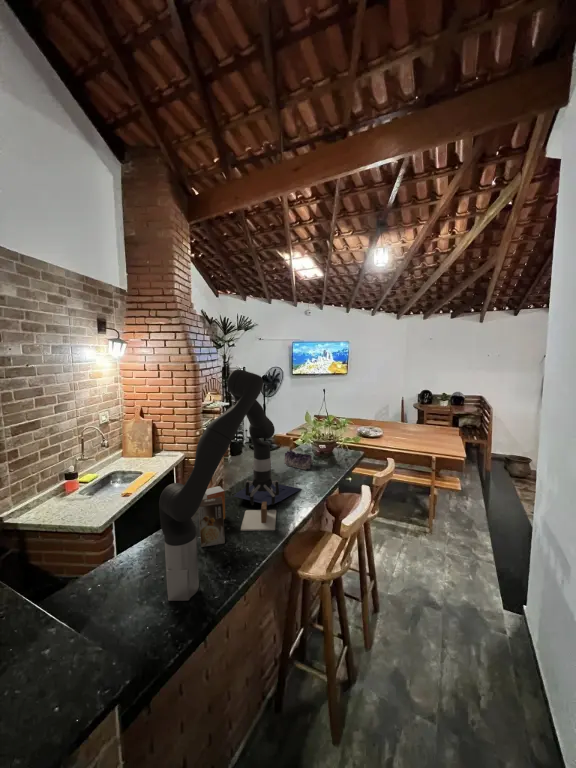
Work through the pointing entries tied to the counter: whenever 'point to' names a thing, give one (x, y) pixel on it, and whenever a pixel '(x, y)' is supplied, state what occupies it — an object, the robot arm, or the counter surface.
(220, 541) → the coffee box
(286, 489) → the navy rectangular panel
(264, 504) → the slab
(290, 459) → the geode
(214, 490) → the small box
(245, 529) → the mat
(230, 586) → the counter surface
